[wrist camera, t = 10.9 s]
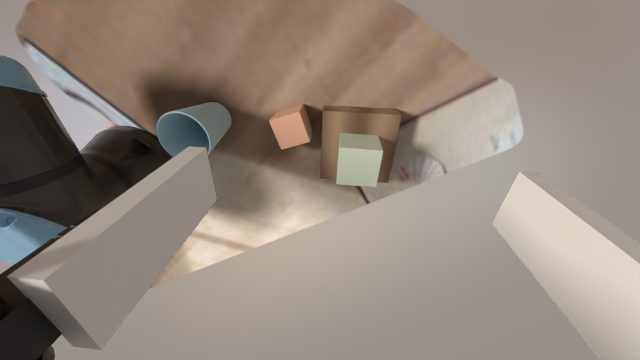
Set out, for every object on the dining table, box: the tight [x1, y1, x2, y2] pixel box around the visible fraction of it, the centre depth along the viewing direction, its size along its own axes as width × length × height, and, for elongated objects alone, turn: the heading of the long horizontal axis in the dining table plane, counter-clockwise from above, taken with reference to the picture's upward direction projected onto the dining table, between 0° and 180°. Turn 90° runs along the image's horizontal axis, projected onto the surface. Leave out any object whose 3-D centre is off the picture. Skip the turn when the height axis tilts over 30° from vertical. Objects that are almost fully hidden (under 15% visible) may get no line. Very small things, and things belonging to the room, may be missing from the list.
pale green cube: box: [336, 133, 383, 187], centre depth 38 cm, size 6×6×6 cm
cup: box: [156, 102, 232, 157], centre depth 38 cm, size 8×8×10 cm
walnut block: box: [320, 105, 402, 183], centre depth 42 cm, size 12×12×4 cm
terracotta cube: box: [269, 104, 313, 150], centre depth 40 cm, size 5×5×5 cm
